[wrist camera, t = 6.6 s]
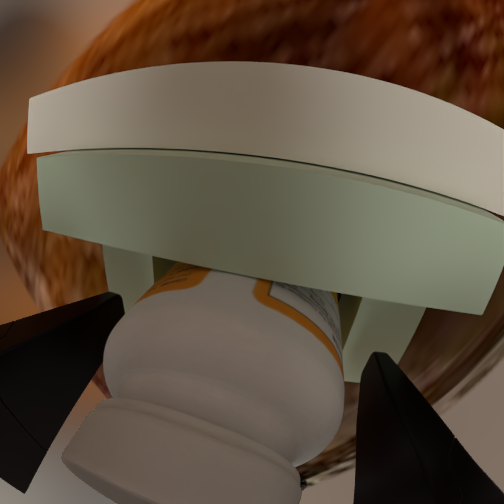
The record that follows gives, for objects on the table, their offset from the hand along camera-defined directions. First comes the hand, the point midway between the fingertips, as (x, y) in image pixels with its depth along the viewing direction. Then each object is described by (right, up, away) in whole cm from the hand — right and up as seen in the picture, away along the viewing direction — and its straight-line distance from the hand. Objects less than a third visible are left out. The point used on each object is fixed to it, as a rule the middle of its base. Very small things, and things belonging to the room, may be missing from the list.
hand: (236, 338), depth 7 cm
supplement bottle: (+1, +2, +4) cm, 5 cm away
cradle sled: (+1, +3, +3) cm, 4 cm away
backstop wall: (+2, +7, +2) cm, 7 cm away
